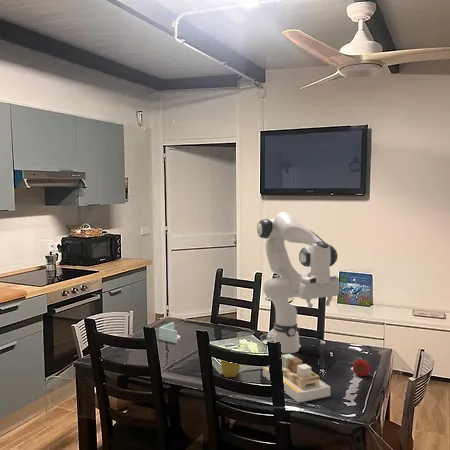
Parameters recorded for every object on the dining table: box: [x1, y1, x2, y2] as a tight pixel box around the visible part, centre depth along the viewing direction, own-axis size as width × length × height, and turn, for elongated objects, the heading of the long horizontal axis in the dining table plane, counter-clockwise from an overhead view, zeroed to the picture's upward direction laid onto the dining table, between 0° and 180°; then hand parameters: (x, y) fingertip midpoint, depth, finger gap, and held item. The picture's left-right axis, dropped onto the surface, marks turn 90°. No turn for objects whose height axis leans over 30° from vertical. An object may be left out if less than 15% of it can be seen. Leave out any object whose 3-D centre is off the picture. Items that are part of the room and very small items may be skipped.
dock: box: [262, 366, 332, 404], centre depth 218 cm, size 30×16×4 cm, turn 24°
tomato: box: [352, 358, 371, 378], centre depth 229 cm, size 8×8×8 cm
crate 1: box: [280, 353, 295, 368], centre depth 223 cm, size 4×4×4 cm
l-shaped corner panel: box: [158, 321, 181, 344], centre depth 278 cm, size 12×12×8 cm
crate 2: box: [297, 363, 312, 379], centre depth 211 cm, size 4×4×4 cm
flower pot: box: [220, 359, 241, 378], centre depth 228 cm, size 9×9×9 cm
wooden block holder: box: [282, 356, 321, 389], centre depth 218 cm, size 24×9×8 cm, turn 24°
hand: (318, 306), depth 229 cm, fingers open, 8 cm apart
